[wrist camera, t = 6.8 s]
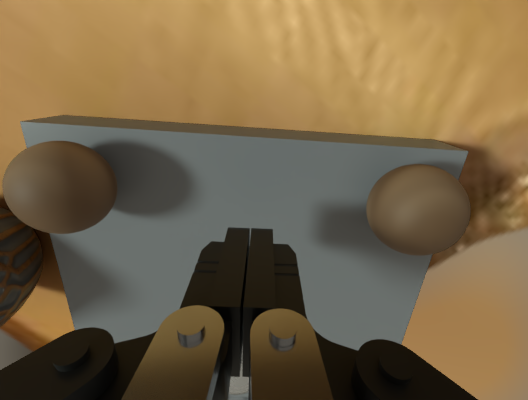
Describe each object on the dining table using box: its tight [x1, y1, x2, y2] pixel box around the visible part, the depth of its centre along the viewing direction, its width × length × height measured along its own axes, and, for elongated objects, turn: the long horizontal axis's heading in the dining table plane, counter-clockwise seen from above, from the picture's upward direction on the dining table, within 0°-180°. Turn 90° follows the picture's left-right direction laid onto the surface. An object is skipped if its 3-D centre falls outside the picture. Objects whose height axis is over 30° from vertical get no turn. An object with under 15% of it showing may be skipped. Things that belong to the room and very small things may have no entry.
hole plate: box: [20, 115, 468, 400], centre depth 16 cm, size 18×18×2 cm
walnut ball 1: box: [3, 141, 117, 234], centre depth 10 cm, size 3×3×3 cm
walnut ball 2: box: [366, 164, 471, 256], centre depth 10 cm, size 3×3×3 cm
